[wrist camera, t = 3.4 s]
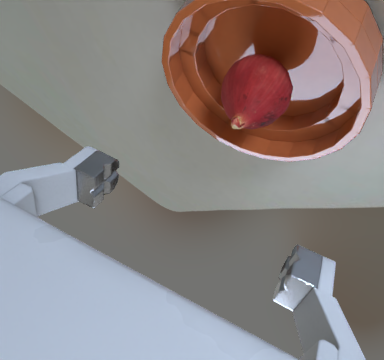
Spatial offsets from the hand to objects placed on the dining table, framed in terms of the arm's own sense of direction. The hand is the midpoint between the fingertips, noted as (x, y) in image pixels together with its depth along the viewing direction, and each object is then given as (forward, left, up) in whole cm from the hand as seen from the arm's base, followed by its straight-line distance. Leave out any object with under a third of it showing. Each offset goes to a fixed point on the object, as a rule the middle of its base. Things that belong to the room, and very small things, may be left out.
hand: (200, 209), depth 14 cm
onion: (+5, -7, -19) cm, 20 cm away
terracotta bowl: (+5, -7, -19) cm, 21 cm away
